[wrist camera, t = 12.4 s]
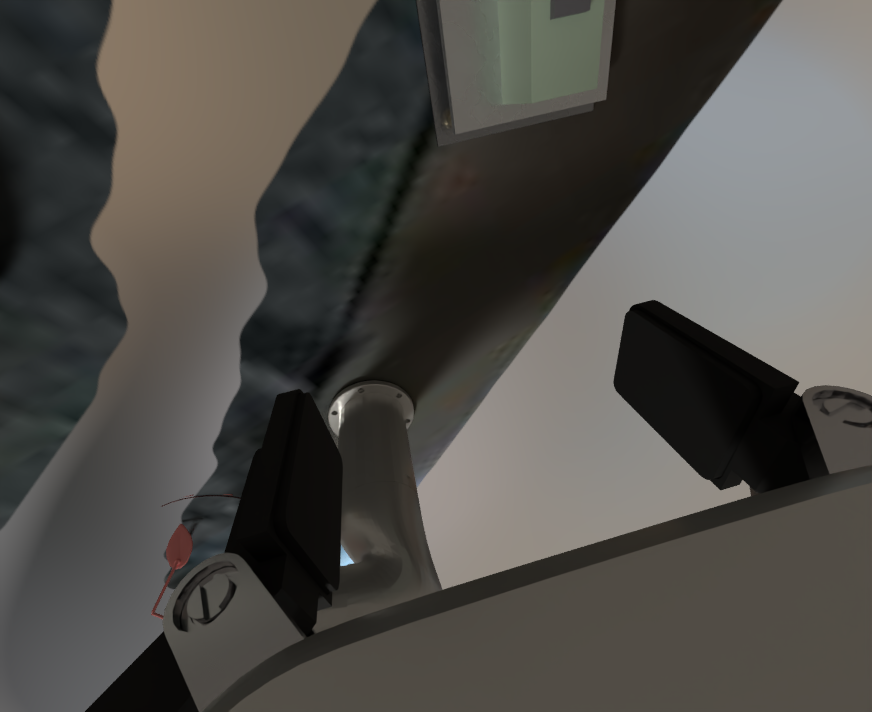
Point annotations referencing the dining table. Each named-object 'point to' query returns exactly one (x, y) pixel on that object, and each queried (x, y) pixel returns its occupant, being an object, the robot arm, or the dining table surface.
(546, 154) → the dining table surface
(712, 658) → the robot arm
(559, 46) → the pale green block
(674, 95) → the dining table surface
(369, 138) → the dining table surface
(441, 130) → the chassis
